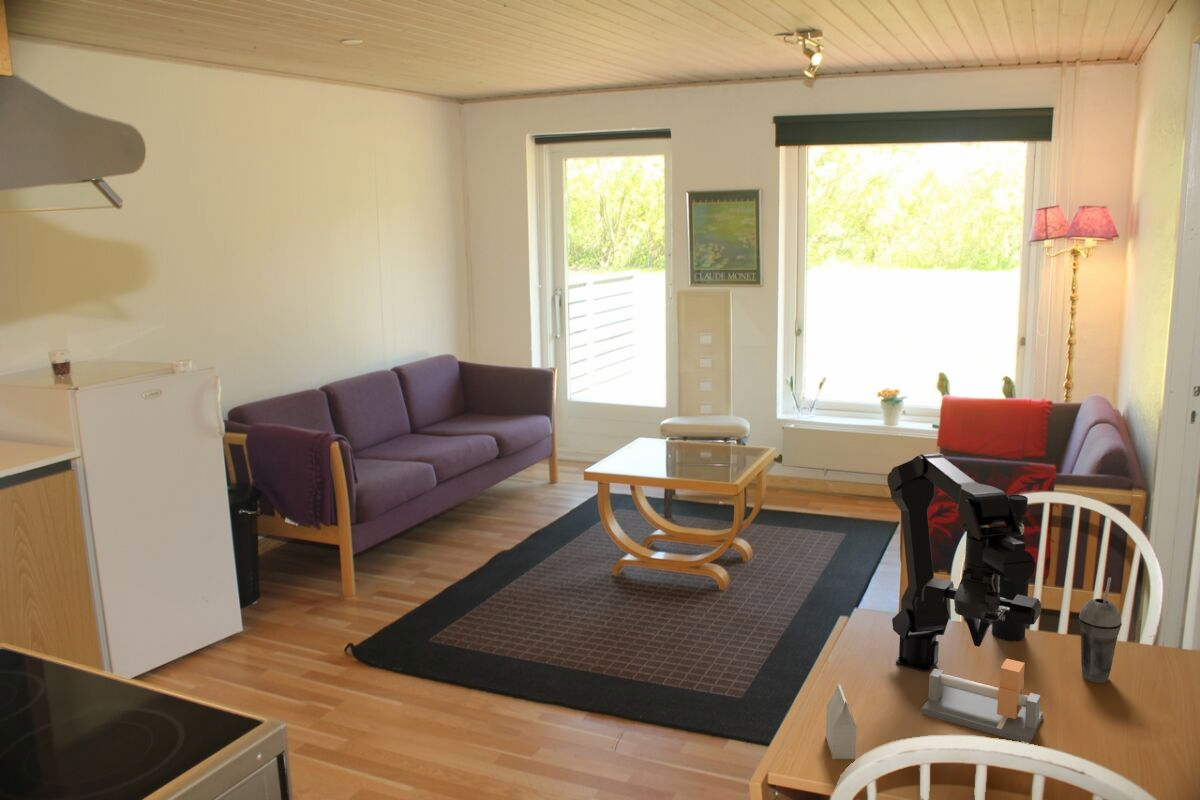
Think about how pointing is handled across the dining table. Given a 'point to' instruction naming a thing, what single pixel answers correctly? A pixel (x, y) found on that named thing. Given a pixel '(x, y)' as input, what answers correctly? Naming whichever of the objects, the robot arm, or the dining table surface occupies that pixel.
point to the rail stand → (980, 707)
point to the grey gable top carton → (840, 727)
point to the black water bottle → (1008, 590)
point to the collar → (1010, 688)
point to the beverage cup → (1098, 637)
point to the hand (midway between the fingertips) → (977, 645)
